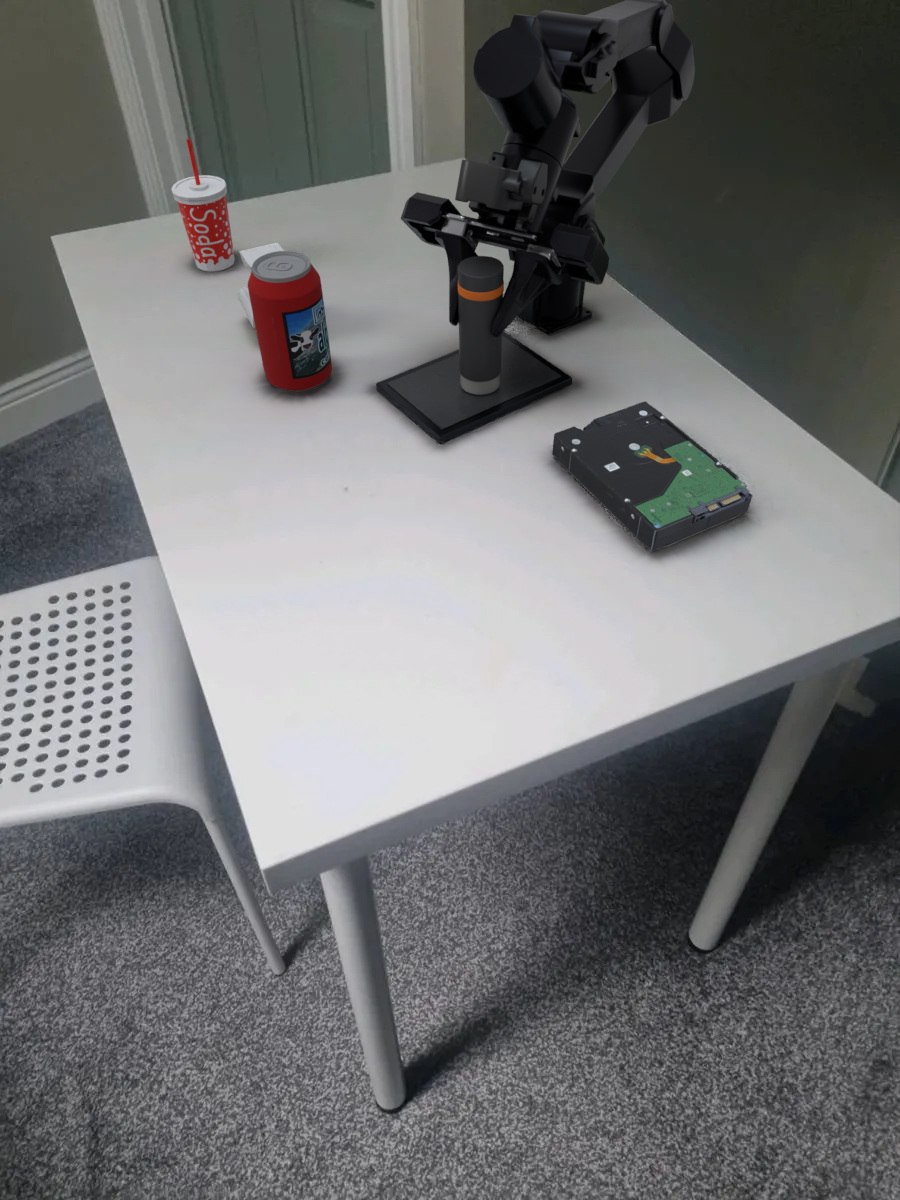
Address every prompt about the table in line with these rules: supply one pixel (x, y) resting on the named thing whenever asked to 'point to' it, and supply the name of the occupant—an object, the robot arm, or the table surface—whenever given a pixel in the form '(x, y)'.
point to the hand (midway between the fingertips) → (473, 329)
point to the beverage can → (290, 320)
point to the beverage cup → (205, 218)
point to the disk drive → (651, 475)
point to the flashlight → (479, 323)
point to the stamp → (248, 260)
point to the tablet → (452, 410)
